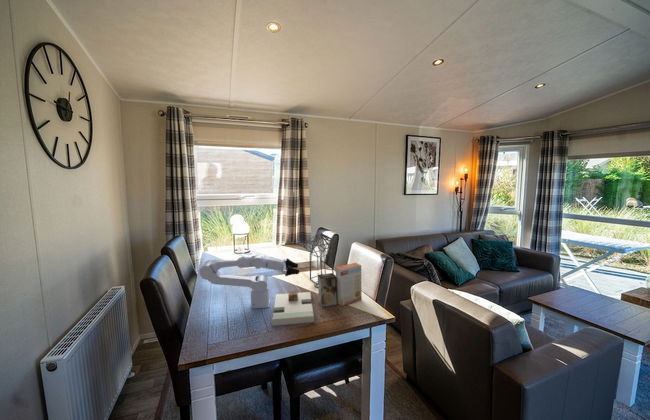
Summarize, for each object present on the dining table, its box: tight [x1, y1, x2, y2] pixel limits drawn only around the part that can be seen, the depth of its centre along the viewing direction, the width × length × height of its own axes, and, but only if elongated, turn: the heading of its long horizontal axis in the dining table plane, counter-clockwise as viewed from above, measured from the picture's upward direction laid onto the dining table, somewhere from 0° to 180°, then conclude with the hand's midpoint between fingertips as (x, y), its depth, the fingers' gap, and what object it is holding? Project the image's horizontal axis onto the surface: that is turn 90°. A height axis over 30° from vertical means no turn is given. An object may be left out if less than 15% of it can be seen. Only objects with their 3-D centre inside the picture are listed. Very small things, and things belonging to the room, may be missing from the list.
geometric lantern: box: [304, 232, 337, 288], centre depth 156 cm, size 16×16×35 cm
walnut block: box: [288, 290, 299, 301], centre depth 137 cm, size 5×5×4 cm
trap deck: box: [271, 291, 315, 327], centre depth 131 cm, size 20×28×3 cm
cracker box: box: [335, 262, 363, 307], centre depth 136 cm, size 14×6×21 cm, turn 120°
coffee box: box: [317, 272, 338, 308], centre depth 135 cm, size 9×6×16 cm
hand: (298, 269), depth 138 cm, fingers open, 7 cm apart
